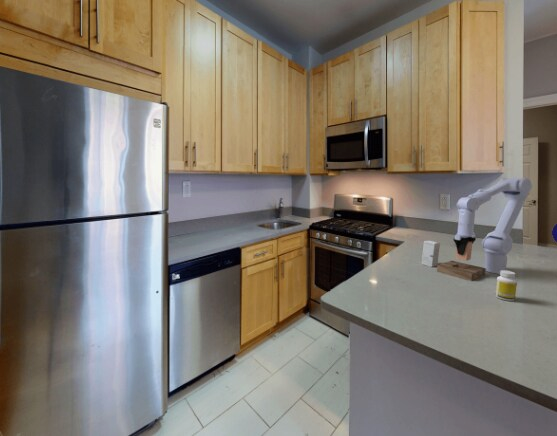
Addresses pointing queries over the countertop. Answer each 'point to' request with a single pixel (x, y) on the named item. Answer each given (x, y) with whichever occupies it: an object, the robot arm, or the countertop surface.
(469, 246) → the terracotta peg
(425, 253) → the skincare box
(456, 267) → the walnut socket block
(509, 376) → the countertop surface
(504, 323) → the countertop surface
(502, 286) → the supplement bottle
